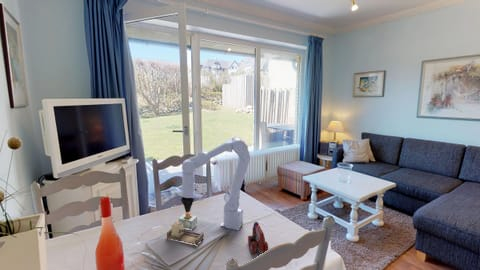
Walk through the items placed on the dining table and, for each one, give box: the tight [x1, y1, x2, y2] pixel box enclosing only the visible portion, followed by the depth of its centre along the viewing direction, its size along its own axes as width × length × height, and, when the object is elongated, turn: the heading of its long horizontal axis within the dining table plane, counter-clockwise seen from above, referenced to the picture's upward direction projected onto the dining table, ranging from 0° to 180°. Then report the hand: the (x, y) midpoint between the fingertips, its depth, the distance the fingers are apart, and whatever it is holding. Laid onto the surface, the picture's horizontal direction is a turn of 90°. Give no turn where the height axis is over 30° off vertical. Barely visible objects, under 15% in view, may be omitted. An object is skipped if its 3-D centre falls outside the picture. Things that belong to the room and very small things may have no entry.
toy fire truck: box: [247, 221, 269, 254], centre depth 98 cm, size 7×12×10 cm, turn 10°
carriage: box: [171, 220, 184, 238], centre depth 102 cm, size 5×4×5 cm
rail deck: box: [166, 228, 205, 246], centre depth 102 cm, size 15×6×3 cm, turn 72°
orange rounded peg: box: [184, 211, 192, 219], centre depth 111 cm, size 2×2×3 cm
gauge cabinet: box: [178, 213, 198, 229], centre depth 112 cm, size 7×5×5 cm
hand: (187, 211), depth 111 cm, fingers closed
